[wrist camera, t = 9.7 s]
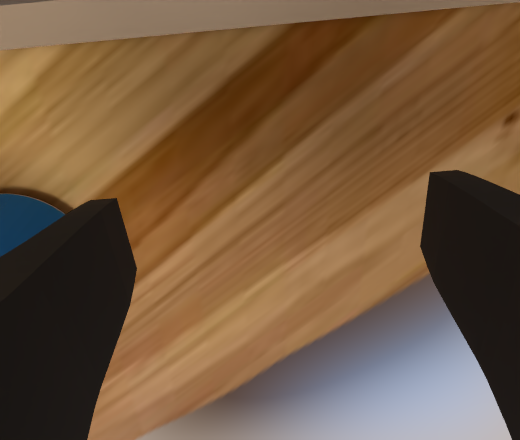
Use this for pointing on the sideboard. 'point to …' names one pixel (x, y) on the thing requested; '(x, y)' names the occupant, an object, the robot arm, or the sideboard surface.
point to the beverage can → (23, 219)
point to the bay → (179, 16)
